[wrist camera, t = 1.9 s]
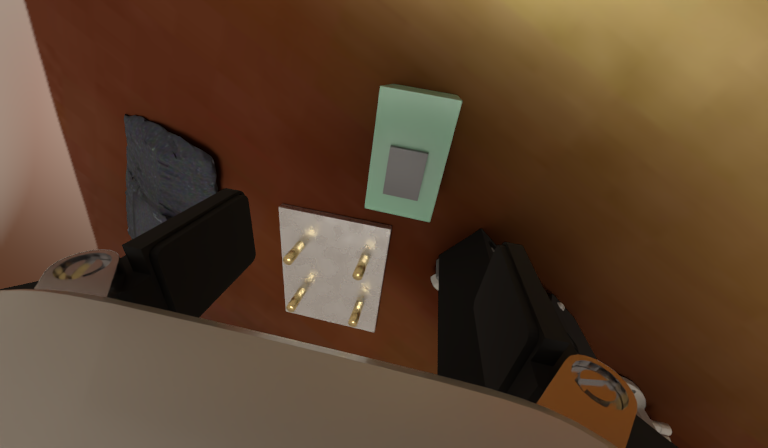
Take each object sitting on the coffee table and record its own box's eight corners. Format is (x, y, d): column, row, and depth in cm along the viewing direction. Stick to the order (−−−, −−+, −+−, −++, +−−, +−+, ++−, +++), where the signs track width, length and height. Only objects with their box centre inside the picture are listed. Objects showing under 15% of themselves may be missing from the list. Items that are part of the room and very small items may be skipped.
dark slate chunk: (243, 158, 33) (215, 170, 29) (225, 281, 44) (202, 302, 40) (123, 101, 32) (77, 105, 28) (134, 240, 43) (102, 257, 39)
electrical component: (425, 263, 35) (409, 448, 18) (495, 218, 30) (568, 407, 13) (506, 345, 39) (559, 561, 22) (579, 315, 34) (721, 559, 17)
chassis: (391, 225, 33) (385, 245, 29) (375, 327, 42) (368, 352, 38) (282, 203, 34) (262, 220, 31) (289, 306, 43) (274, 329, 39)
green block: (457, 95, 26) (463, 101, 19) (432, 193, 30) (429, 225, 24) (394, 83, 26) (378, 86, 19) (379, 182, 31) (362, 210, 24)
